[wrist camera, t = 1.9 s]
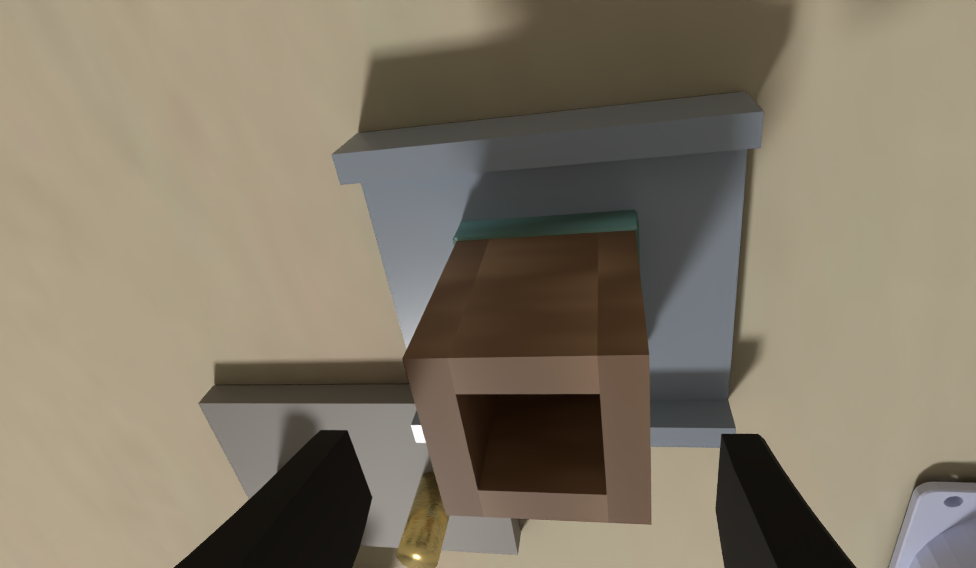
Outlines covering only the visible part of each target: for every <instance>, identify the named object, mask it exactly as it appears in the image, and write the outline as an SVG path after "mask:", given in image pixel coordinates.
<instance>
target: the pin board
mask: <svg viewBox="0 0 976 568" xmlns="http://www.w3.org/2000/svg"><path fill="white" fill-rule="evenodd" d="M198 404H199V406H200V407H201V409H202V411H203V413H204V415H205V417H206V419H207V421H208V423H209V425H210V426H211V428H212V430H213V432H214V434H215V436H216V438H217V440H218V442H219V443H220V445H221V447H222V449H223V451H224V453H225V455H226V457H227V459H228V460H229V462H230V464H231V466H232V468H233V470H234V472H235V474H236V476H237V478H238V479H239V481H240V483H241V485H242V487H243V489H244V491H245V493H246V495H247V496H248V498H249V499H250V498H251V497H252V496H253V495H254V494H255V493H256V492H257V491H258V490H260V489H261V488H262V487H263V486H264V485H265V484H266V483H267V482H268V481H269V480H270V479H271V478H272V477H273V476H274V475H275V474H276V473H277V471H278V470H279V469H281V468H282V467H283V466H284V465H285V464H286V463H287V462H288V461H289V460H290V459H291V458H292V457H293V456H294V455H295V454H296V453H297V452H298V451H299V450H300V449H301V448H302V447H303V446H304V445H305V444H306V443H307V442H308V441H309V440H310V439H311V438H312V437H313V436H315V435H316V434H317V433H318V432H319V431H320V430H348V433H349V435H350V438H351V441H352V444H353V446H354V449H355V452H356V454H357V457H358V460H359V462H360V465H361V468H362V470H363V473H364V476H365V479H366V481H367V484H368V487H369V489H370V492H371V495H372V502H371V506H370V510H369V514H368V518H367V522H366V526H365V530H364V533H363V537H362V541H361V544H360V546H374V547H391V548H398V547H399V543H400V540H401V537H402V534H403V531H404V528H405V525H406V522H407V519H408V516H409V513H410V510H411V507H412V504H413V501H414V498H415V495H416V491H417V488H418V485H419V482H420V479H421V477H422V476H423V475H424V474H425V473H427V472H432V471H434V470H433V466H432V463H431V459H430V456H429V452H428V449H427V445H426V443H416V441H415V438H414V434H413V431H412V428H411V423H412V421H413V418H414V415H415V413H416V410H417V409H416V406H415V402H414V399H413V395H412V392H411V388H410V384H368V385H213V387H212V388H211V389H210V390H209V391H208V393H207V394H206V395H205V396H204V397H203V398H202V400H201V401H200V402H199V403H198ZM520 535H521V532H520V526H519V521H518V519H516V518H494V517H472V516H450V517H449V521H448V525H447V529H446V533H445V537H444V541H443V545H442V548H441V550H442V551H459V552H476V553H493V554H510V555H518V550H519V542H520Z"/></svg>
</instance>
